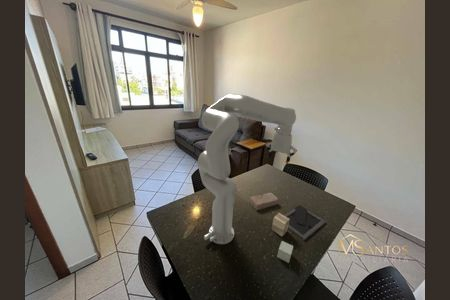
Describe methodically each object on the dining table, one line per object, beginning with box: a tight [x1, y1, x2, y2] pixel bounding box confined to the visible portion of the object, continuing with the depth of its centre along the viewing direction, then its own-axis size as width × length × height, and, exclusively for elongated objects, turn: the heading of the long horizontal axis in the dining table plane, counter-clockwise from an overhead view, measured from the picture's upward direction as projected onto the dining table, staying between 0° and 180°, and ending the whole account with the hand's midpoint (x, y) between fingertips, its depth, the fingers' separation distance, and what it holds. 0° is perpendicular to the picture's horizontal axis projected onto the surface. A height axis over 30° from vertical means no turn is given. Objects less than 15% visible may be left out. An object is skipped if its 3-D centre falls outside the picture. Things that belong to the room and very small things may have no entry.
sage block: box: [276, 240, 294, 264], centre depth 77 cm, size 5×5×5 cm
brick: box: [249, 192, 279, 211], centre depth 110 cm, size 17×8×5 cm, turn 114°
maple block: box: [271, 212, 290, 237], centre depth 89 cm, size 5×6×8 cm
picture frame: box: [283, 204, 327, 241], centre depth 97 cm, size 16×2×21 cm
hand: (278, 160), depth 101 cm, fingers open, 9 cm apart
